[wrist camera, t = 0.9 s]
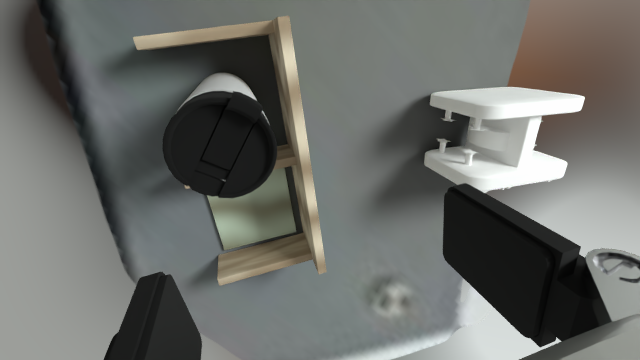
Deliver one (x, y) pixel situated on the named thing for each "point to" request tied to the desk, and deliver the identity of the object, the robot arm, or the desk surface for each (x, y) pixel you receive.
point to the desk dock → (273, 195)
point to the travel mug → (220, 139)
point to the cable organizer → (499, 136)
